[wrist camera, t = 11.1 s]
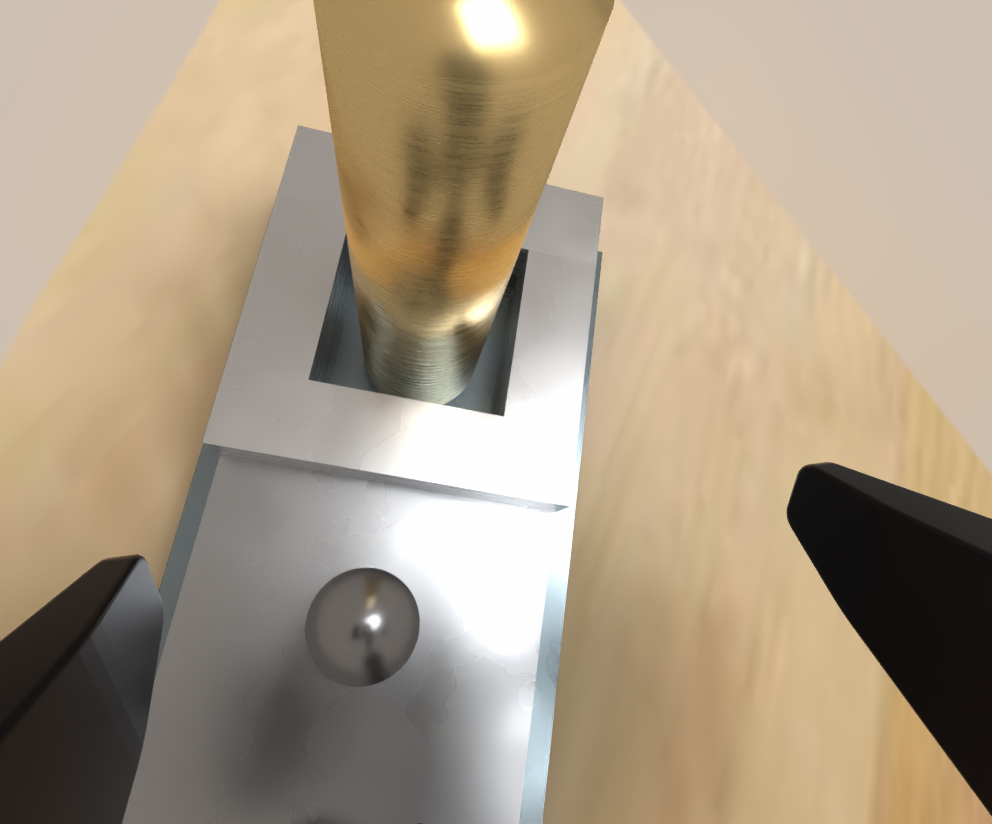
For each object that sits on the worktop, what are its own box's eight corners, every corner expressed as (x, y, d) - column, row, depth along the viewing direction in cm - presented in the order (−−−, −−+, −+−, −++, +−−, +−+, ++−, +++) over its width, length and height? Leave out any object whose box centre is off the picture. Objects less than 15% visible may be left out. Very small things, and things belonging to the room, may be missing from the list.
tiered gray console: (508, 1000, 16) (550, 1159, 11) (67, 969, 14) (-72, 1135, 10) (589, 273, 22) (635, 199, 18) (290, 207, 21) (263, 111, 16)
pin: (487, 396, 18) (654, 68, 7) (376, 418, 18) (338, 93, 6) (461, 296, 19) (568, -157, 7) (353, 313, 18) (279, -162, 7)
